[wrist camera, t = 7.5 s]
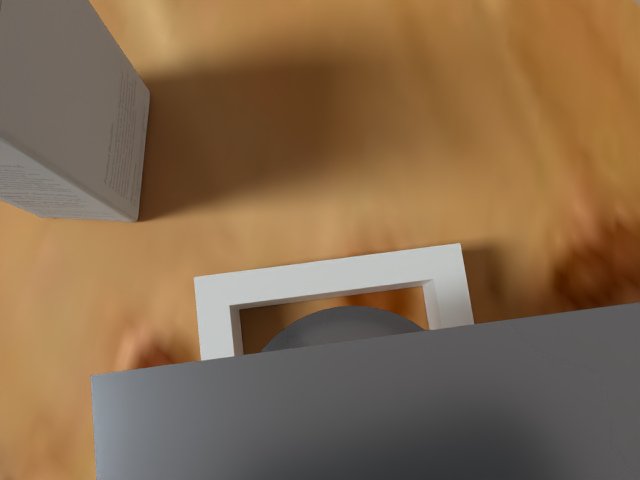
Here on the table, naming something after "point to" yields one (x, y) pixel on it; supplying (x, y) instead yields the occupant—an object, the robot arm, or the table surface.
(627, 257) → the table surface
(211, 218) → the table surface
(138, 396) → the end cover
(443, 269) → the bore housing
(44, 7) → the skincare box
